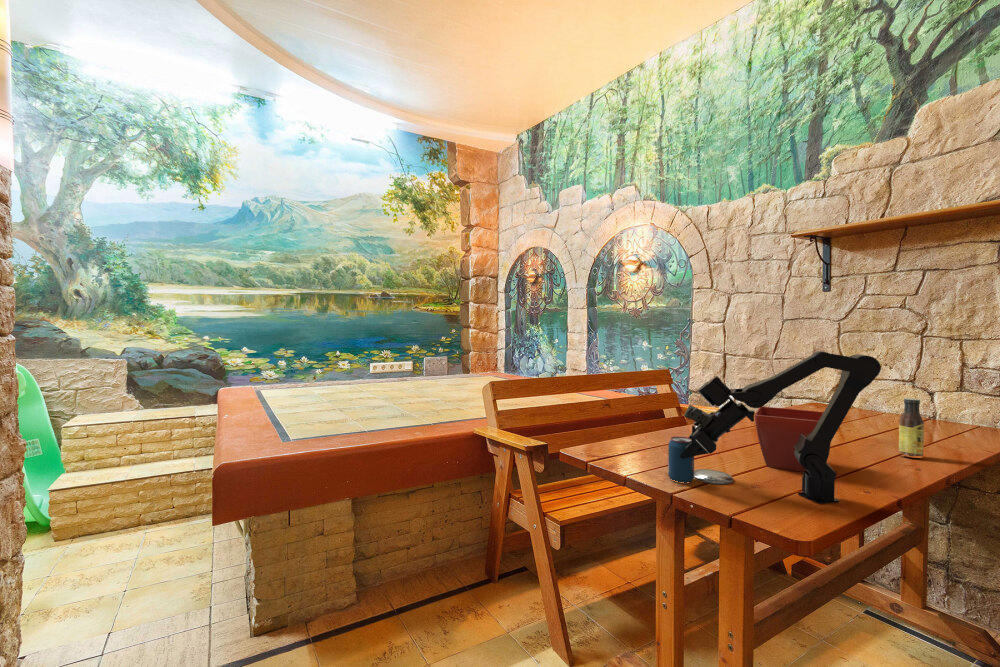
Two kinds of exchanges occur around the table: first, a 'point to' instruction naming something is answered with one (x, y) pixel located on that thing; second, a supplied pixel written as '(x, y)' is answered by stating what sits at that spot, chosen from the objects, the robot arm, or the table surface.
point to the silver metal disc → (713, 476)
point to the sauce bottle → (911, 429)
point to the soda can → (680, 460)
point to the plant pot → (783, 434)
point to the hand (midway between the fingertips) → (681, 453)
